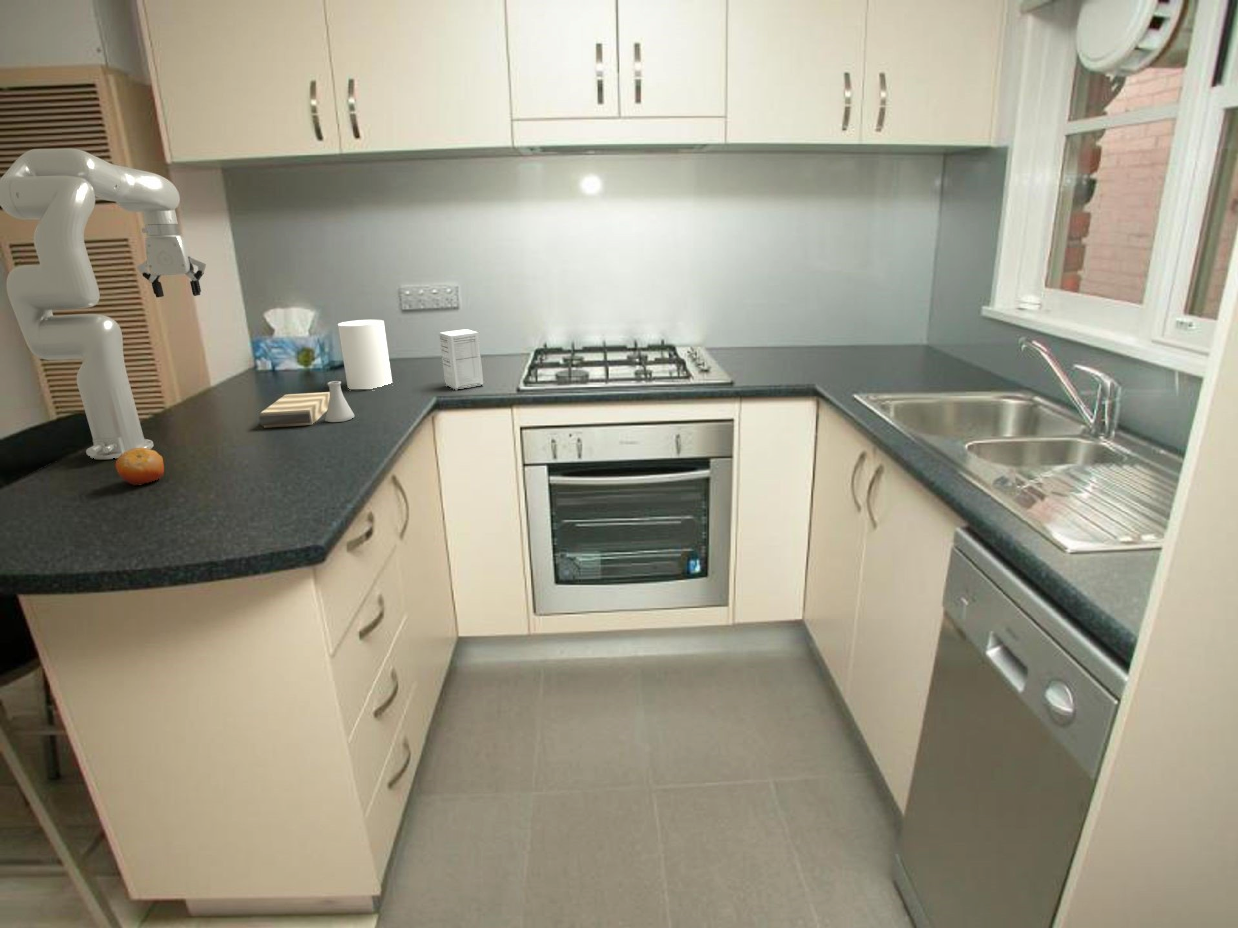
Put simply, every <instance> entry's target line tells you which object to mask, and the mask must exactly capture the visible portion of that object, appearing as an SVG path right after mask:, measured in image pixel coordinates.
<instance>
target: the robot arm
mask: <svg viewBox="0 0 1238 928" xmlns="http://www.w3.org/2000/svg"><path fill="white" fill-rule="evenodd" d="M96 197H97V198H99V199H102V200H104V201H109V202H115V203H116V204H117V206H118V207H120V208H121V209H123V210H125V211H127V212H130V213H131V212H133V213H140V212H141V213H143V214H142V215H143V218H144V223H145V227H142V228H141V233H143V234H146V235H147V236H148V237H145V239H144V241H145V242H144V246H145V256H146V260H145V261H144V262H142V263H140V264H139V265H137V267H136V268H137V270H138V272H140V274H141V275H142V277H143V278H145V279H146V280H147V281H148V282H149V283H151V286H152V288H151V289H152V292H153V294H154V295H155V297H156V298H163V297H164V295H165V294H164V289H163V286H162V283H161V281H159V280H160V278H161V277H162V276H179V275H180V276H181V275H186V276H187V277H188V278H189V279H190V282H189V284H190V288H191V293H192V295H193V296H194V297H197V296H200V295H201V292H202V288H201V284H200V280H201V278H202V276H203V275H204V274H205V270H206V267H207V266H206V263H204V262H202V261H200V260H198V259H195V258H193V257H192V256H191V252H190V249H189V246H188V244H187V242H186V239H185V237H184V236H182V235H181V230H180V226H179V223H178V218H177V213H176V209H177V208H178V207H179V205H180V202H181V199H180V193H179V191H178V189H177V187H176V186H175V185H174V184H173V183H172V181H171V180H169V179H167V178H166V177H163V176H162V175H161V174H160V175H159V174H157V173H154V172H150V171H146V170H141V169H135V168H132V167H127V166H123V165H117V164H113V163H110V162H109V161H106V160H104V159H103V158H100V157H98V156H96V155H94V154H91V153H89V152H87V151H85V150H81V149H79V148H72V147H71V148H70V147H69V148H65V147H64V148H33V149H29V150H28V151H26V152H24V153H23V154H21V155H20V156H19V157H18V158H17V159H16V160H15V161H14V162H13V163H12V164H11V165H10V167H9V168H8V169H7V171H5V173H4V174H3V175H2V177H1V178H0V207H1V208H2V210H3V211H4V212H5V213H6V214H7V215H9V216H11V217H12V218H15V219H19V220H25V221H28V220H30V221H32V220H33V221H34V220H39V221H38V223H37V225H36V228H35V231H34V232H33V233H34V234H33V246H34V248H35V252H36V255H37V258H38V262H39V264H25V265H19V266H16V267H14V268H13V269H11V270H10V272H9V273H8V275H7V278H6V291H7V296H8V300H9V302H10V305H11V307H12V310H13V313H14V314H15V317H16V320H17V324H18V326H19V328H20V331H21V333H22V336H23V338H24V341H25V343H26V345H27V347H28V348H29V350H30V352H31V353H32V354H33V355H35V356H36V357H37V358H39V359H42V360H48V361H56V360H57V361H61V360H62V361H63V360H82V362H81V366H80V367H79V369H78V371H77V374H76V385H77V389H78V392H79V395H80V397H81V401H82V405H83V409H84V412H85V415H86V419H87V423H88V426H89V429H90V434H91V437H92V443H93V445H92V446H90V447H89V448H87V449H86V450H85V452H86V456H88V457H89V456H90V457H89V458H90V459H93V458H94V460H114V459H113V458H115V459H118V458H119V457H120V456H121V455H122V454H123V453H124V452H126V451H129V450H131V449H134V448H139V447H140V448H145V449H150V450H152V449H153V447H154V441H153V440H151V439H146V438H145V437H144V433H143V430H142V426H141V422H140V419H139V414H138V411H137V407H136V403H135V399H134V395H133V391H132V389H131V384H130V380H129V377H128V373H127V368H126V364H125V357H124V341H123V339H124V338H123V334H122V329H121V326H120V324H119V323H118V322H117V321H116V320H115V319H113V318H112V317H110V316H107V315H103V314H97V313H96V314H95V313H86V314H85V313H81V314H80V313H79V314H68V315H64V314H63V315H54V314H53V311H62V310H63V311H64V310H66V311H67V310H69V311H70V310H83V309H89V308H92V307H94V306H96V305H98V303H99V301H100V297H101V296H100V290H99V286H98V282H97V279H96V276H95V273H94V270H93V267H92V263H91V261H90V257H89V255H88V250H87V247H86V244H85V230H86V226H87V223H88V220H89V218H90V216H91V214H92V213H93V210H95V209H94V208H95V205H96ZM195 266H197V271H196V272H195V271H194V270H195ZM147 268H148V271H149V272H148V271H147Z"/></svg>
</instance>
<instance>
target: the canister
mask: <svg viewBox="0 0 1238 928" xmlns="http://www.w3.org/2000/svg"><path fill="white" fill-rule="evenodd" d="M337 327H338V328H337V329H338V335H339V340H340V347H341V353H342V359H343V365H344V372H345V378H346V379H345V380H346V385H347V389H348V388H349V389H373V388H377V387H382V386H384V385H388V384H391V383H393V377H392V371H391V364H390V363H391V362H390V357H389V348H388V342H387V341H388V340H387V334H386V328H385V327H386V326H385V321H384V320H382V319H357V320H349V321H348V320H347V321H342V322H339V323H338V324H337ZM349 389H348V390H349Z"/></svg>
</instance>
